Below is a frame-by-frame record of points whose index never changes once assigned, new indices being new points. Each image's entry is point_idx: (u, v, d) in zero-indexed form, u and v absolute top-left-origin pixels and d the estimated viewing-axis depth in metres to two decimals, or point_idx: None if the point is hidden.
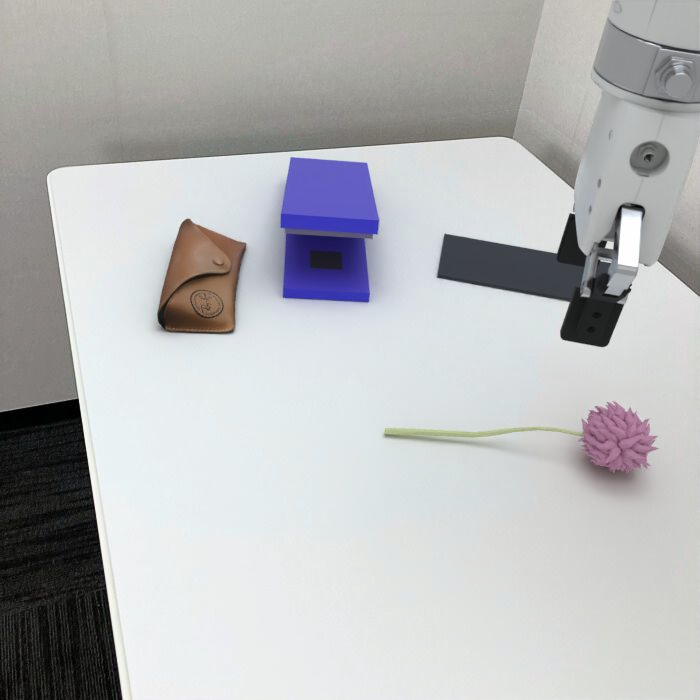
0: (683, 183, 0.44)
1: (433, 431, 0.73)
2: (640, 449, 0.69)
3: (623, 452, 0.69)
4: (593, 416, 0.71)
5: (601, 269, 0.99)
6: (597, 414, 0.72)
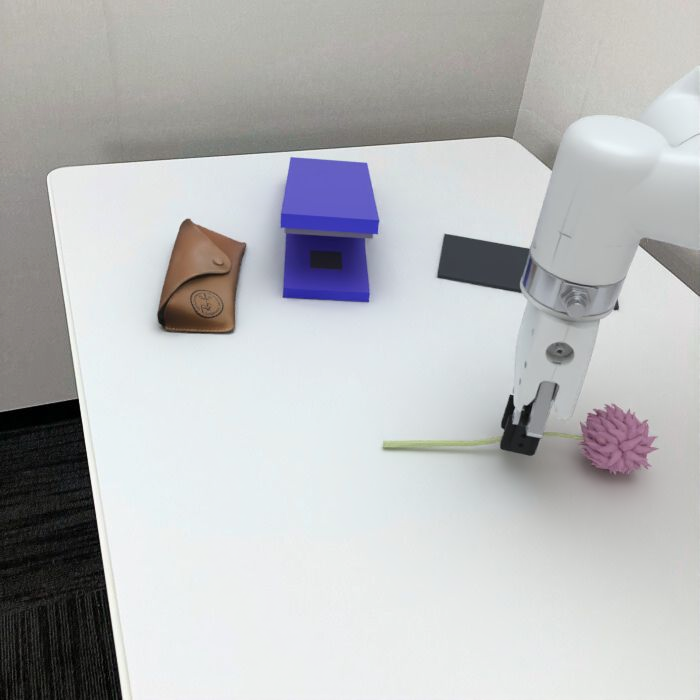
0: (586, 369, 0.60)
1: (432, 442, 0.72)
2: (641, 450, 0.69)
3: (624, 454, 0.69)
4: (592, 419, 0.71)
5: None
6: (595, 417, 0.71)
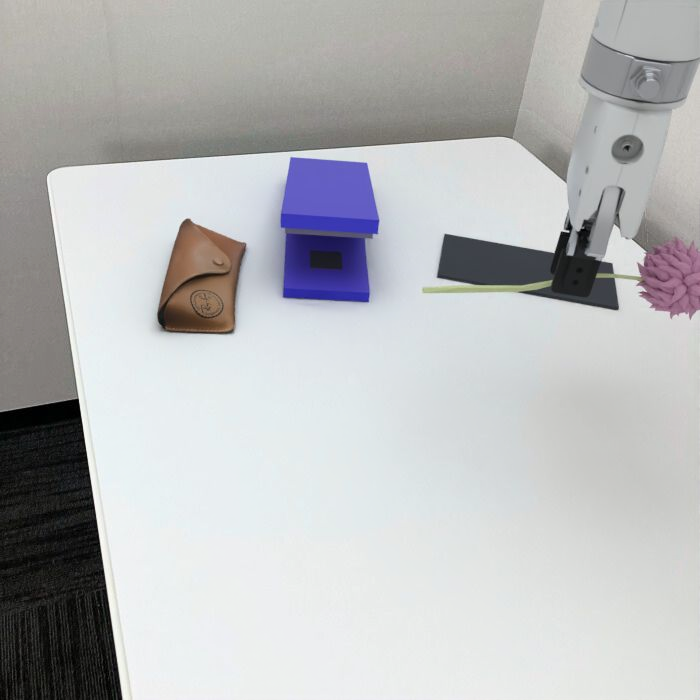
0: (655, 169, 0.54)
1: (476, 286, 0.66)
2: None
3: (689, 289, 0.63)
4: (652, 256, 0.64)
5: (601, 269, 0.99)
6: None
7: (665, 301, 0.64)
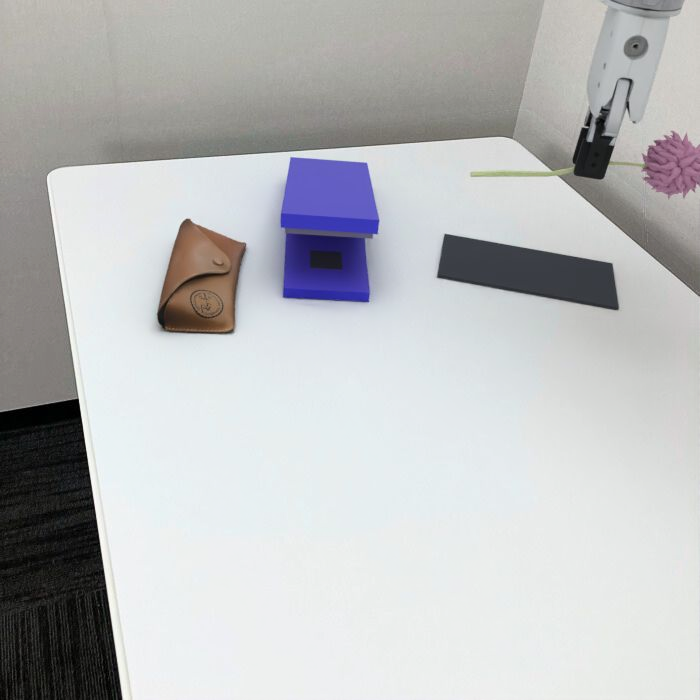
0: (657, 63, 0.71)
1: (514, 171, 0.82)
2: (697, 166, 0.79)
3: (683, 171, 0.80)
4: (653, 146, 0.81)
5: (601, 269, 0.99)
6: None
7: (664, 181, 0.80)
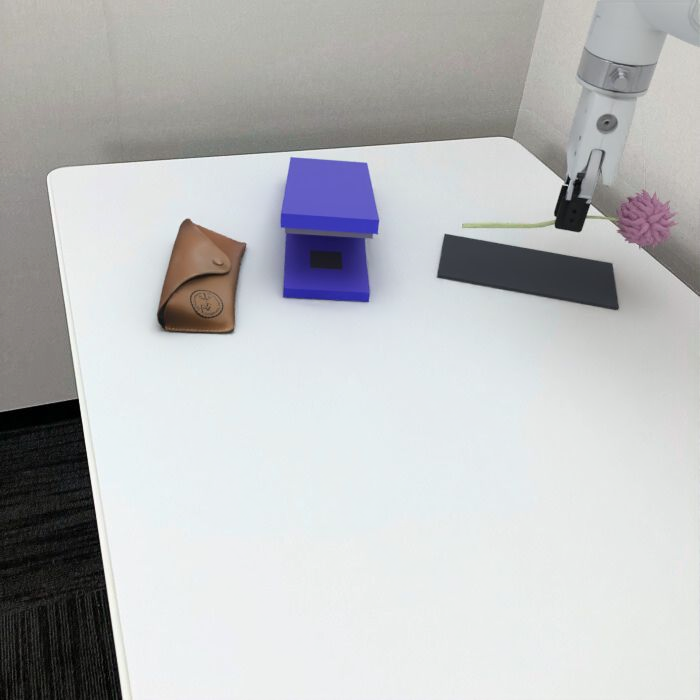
0: (626, 137, 0.80)
1: (501, 223, 0.92)
2: (664, 222, 0.89)
3: (651, 226, 0.89)
4: (626, 203, 0.91)
5: (601, 269, 0.99)
6: None
7: (635, 235, 0.90)
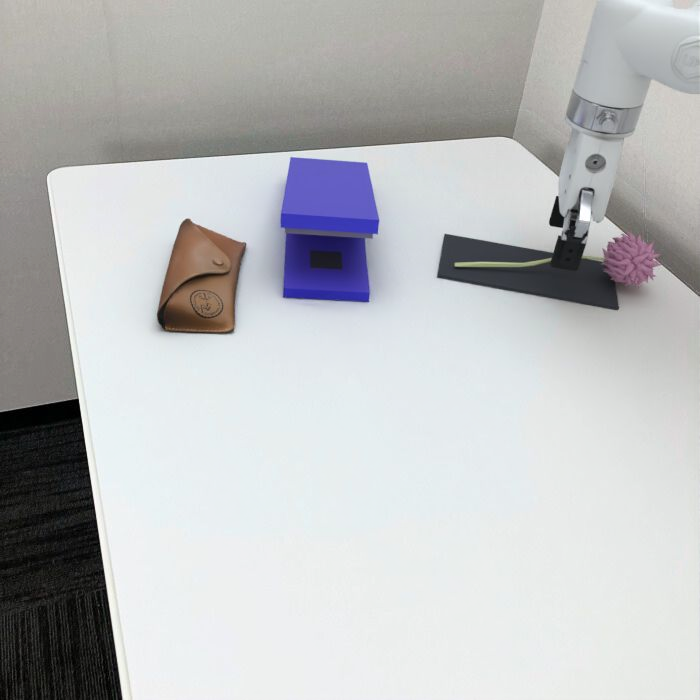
0: (614, 176, 0.83)
1: (491, 263, 0.96)
2: (648, 263, 0.92)
3: (636, 266, 0.93)
4: (612, 244, 0.94)
5: (601, 269, 0.99)
6: None
7: (620, 274, 0.94)
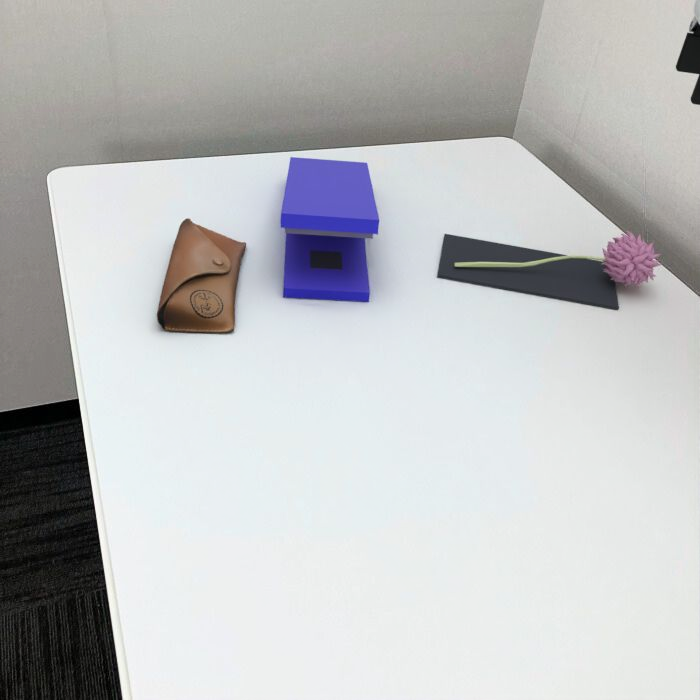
0: None
1: (491, 263, 0.96)
2: (648, 263, 0.92)
3: (636, 266, 0.93)
4: (612, 244, 0.94)
5: (601, 269, 0.99)
6: None
7: (620, 274, 0.94)
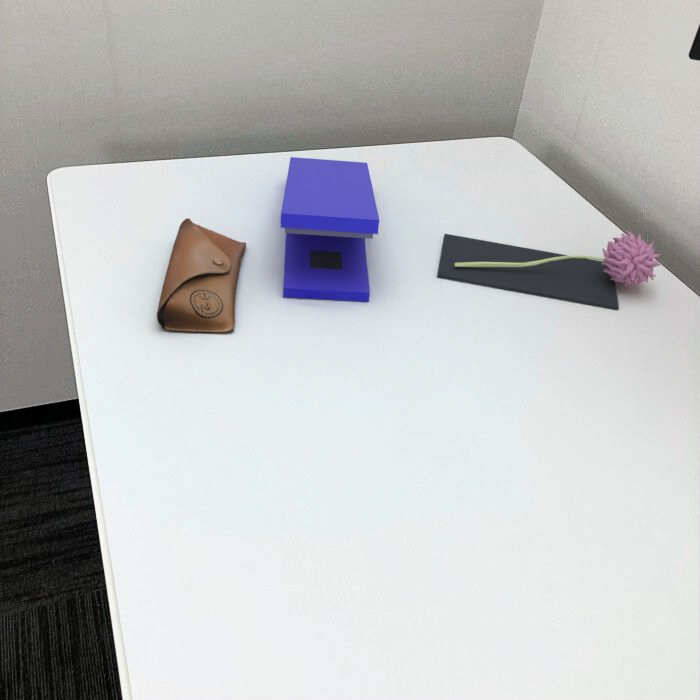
0: None
1: (491, 263, 0.96)
2: (648, 263, 0.92)
3: (636, 266, 0.93)
4: (612, 244, 0.94)
5: (601, 269, 0.99)
6: None
7: (620, 274, 0.94)
